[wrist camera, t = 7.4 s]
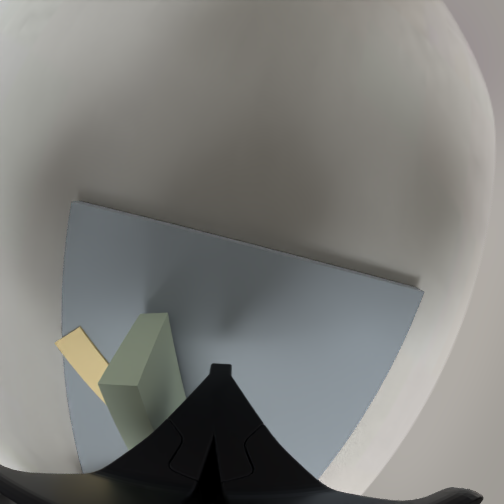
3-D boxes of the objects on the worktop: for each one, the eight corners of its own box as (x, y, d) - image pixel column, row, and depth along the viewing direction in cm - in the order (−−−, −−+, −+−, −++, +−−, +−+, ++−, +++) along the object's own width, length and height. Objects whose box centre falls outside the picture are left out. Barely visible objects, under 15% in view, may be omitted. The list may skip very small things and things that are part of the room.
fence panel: (205, 460, 11) (203, 527, 7) (182, 460, 11) (176, 526, 7) (169, 312, 9) (139, 386, 5) (138, 313, 9) (96, 383, 5)
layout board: (86, 486, 13) (84, 492, 12) (71, 198, 9) (62, 200, 8) (275, 519, 15) (276, 525, 14) (416, 287, 11) (425, 292, 10)
